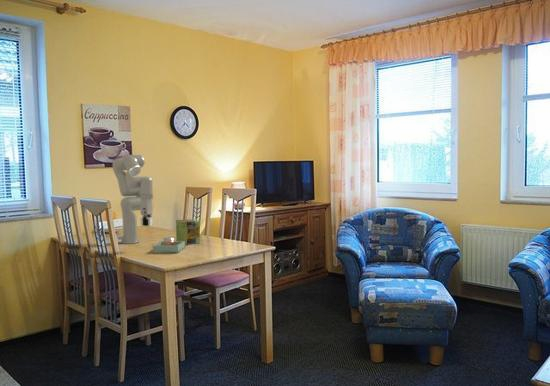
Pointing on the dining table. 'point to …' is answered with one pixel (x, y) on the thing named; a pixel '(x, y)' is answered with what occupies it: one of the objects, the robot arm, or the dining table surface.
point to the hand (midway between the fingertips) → (147, 224)
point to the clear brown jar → (169, 241)
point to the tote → (168, 247)
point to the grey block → (150, 221)
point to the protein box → (188, 231)
